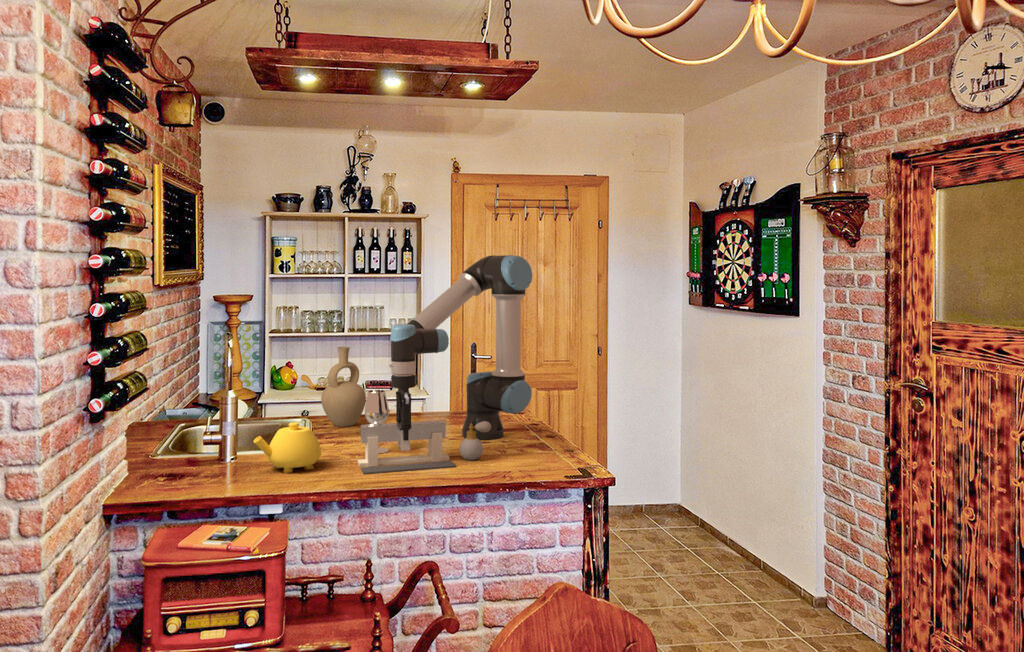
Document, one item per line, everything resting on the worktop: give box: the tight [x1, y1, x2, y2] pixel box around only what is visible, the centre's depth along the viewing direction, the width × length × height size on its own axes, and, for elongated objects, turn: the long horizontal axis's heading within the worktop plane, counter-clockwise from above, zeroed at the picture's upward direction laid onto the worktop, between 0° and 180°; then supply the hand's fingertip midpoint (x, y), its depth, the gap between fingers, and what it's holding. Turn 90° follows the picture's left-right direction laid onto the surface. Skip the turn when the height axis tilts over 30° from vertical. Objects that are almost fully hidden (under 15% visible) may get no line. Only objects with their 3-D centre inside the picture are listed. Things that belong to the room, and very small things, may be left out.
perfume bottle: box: [459, 421, 491, 461], centre depth 249 cm, size 8×10×12 cm
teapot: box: [253, 421, 322, 474], centre depth 236 cm, size 20×16×14 cm
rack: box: [357, 432, 450, 468], centre depth 245 cm, size 28×6×9 cm, turn 108°
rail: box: [360, 419, 447, 444], centre depth 245 cm, size 26×4×5 cm, turn 108°
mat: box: [360, 460, 457, 475], centre depth 238 cm, size 28×6×1 cm, turn 108°
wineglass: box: [364, 389, 390, 455], centre depth 258 cm, size 8×8×20 cm
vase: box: [320, 346, 367, 428], centre depth 299 cm, size 17×17×30 cm
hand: (403, 448), depth 245 cm, fingers open, 5 cm apart
